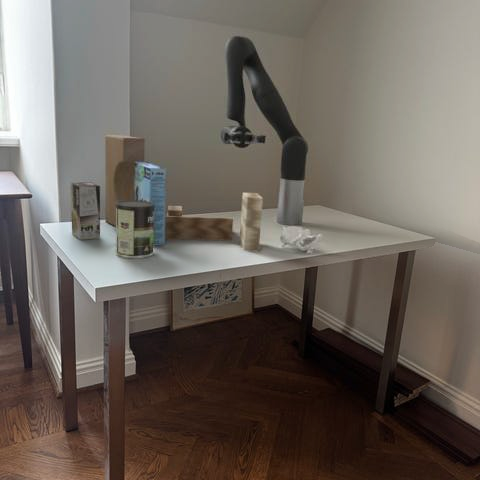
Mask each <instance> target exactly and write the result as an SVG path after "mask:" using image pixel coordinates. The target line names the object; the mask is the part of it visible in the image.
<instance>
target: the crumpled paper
mask: <svg viewBox="0 0 480 480" xmlns="http://www.w3.org/2000/svg"><path fill="white" fill-rule="evenodd" d="M281 227H282V229H283V230H282V233H281V235H280V238H279V239H280V242H281V243H282V245H281V248H282V247H283V248H284V247H285V246H286V245H288V246H289V247H296V248H297V249H298V250H299V251H301V252H304V251H307V252H305V253H306V254H308V255H309V254H313V252H314V251H313V250H314V248H316V247H317V248H318V249H319V248H320V247H322V242H317V241H321V240H322V238H323V234H321V233H318V235H317V234H314V235H310V234H311V231H310V229H309V228H308V229H303V227H302V226H295V225H292V226H288V227H284V226H281Z"/></svg>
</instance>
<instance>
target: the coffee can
mask: <svg viewBox="0 0 480 480" xmlns="http://www.w3.org/2000/svg"><path fill="white" fill-rule="evenodd" d="M154 207H155V204H154V203H152V202H148V201H138V200H127V201H119V202H116V227H115V229H116V230H115V237H116V238H115V240H116V241H115V243H116V244H115V247H116V248H115V249H116V250H115V254H116V255H117V256H118V257H121V258H125V259H145V258H149V257H152V256H153V255H154V254H155V253H154V245H153V238H154Z"/></svg>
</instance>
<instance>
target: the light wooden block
mask: <svg viewBox="0 0 480 480" xmlns="http://www.w3.org/2000/svg"><path fill="white" fill-rule="evenodd" d="M241 197H242V198H241V212H240V213H241V215H240V230H239V244H240V246H241V248H242V250H243V251H253V250H254V251H255V252H256V251H257V252H258V251H260V242H261V241H260V239H261V238H260V237H261V227H262V216H263V215H262V213H263V212H262V211H263V201H264V198H263V197H262V196H261V195H260V194H259V193H257V192H242V196H241ZM254 251H253V252H254Z"/></svg>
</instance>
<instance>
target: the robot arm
mask: <svg viewBox="0 0 480 480" xmlns="http://www.w3.org/2000/svg"><path fill="white" fill-rule="evenodd" d="M224 51H225V53H224V54H225V61H226V62H225V63H226V75H227V76H226V77H227V78H226V79H227V101H226V102H227V103H226V104H227V105H226V118H227V119H228V120H230V121H234V122H237V123H238V125H224V126H223V128H222V129H221V131H220V139H221V141H222V143H224V144H225V145H233V146H234V147H236V148H238V149H245V148H247V147H249V146H250V145H251V144H253V145H255V144H266V137H267V135H263V134H258V135H257V133H253V132H252V131H251V130H250V129H249V128H248V127H247V125H246V119H245V115H246V114H245V113H246V112H245V111H246V90H245V85H244V79H243V78H244V76H243V74H244V72H245V75H246V77H248V81H249V85H250V90H251V93H252V97H253V99H254V101H255V103H256V106H257V107H258V109H259V110H260V112H261V114H262V115H263V117H264V118H265V119H266V121H267V122H268V123H269V125H270V126H272V128H273V129H274V131H275V132H276V134H277V135H278V137H279V139H280V142H281V144H282V148H281V157H280V158H281V159H280V183H279V191H278V193H279V194H278V206H277V216H276V222H277V223H278V224H282V225H289V226H290V225H291V226H295V225H296V226H297V225H303V214H304V207H305V204H304V203H305V200H304V199H303V198H304V189H305V182H306V181H305V180H306V163H307V154H308V151H309V145H308V142H307V141H306V140H305V138H304V137H303V135H302V134H301V132H299V130H298V128H297V127H296V124H294V122H293V119H292V117H291V115H290V112H289V111H288V107H287V106H286V104H285V102H284V100H283V98H282V95H281V94H280V93H279V90H278V89H277V87H276V85H275V84H274V82H273V80H272V79H271V76H270V75H269V73H268V72H267V70H266V69H265V66H264V65H263V62H262V61H261V58H260V56H259V53H258V50H257V48H256V46H255V45H254V42H253V41H252V40H251V39H250V38H248V37H245V36H239V35H233V36H232V37H229V39H228V40H227V42H226V44H225V49H224Z"/></svg>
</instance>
